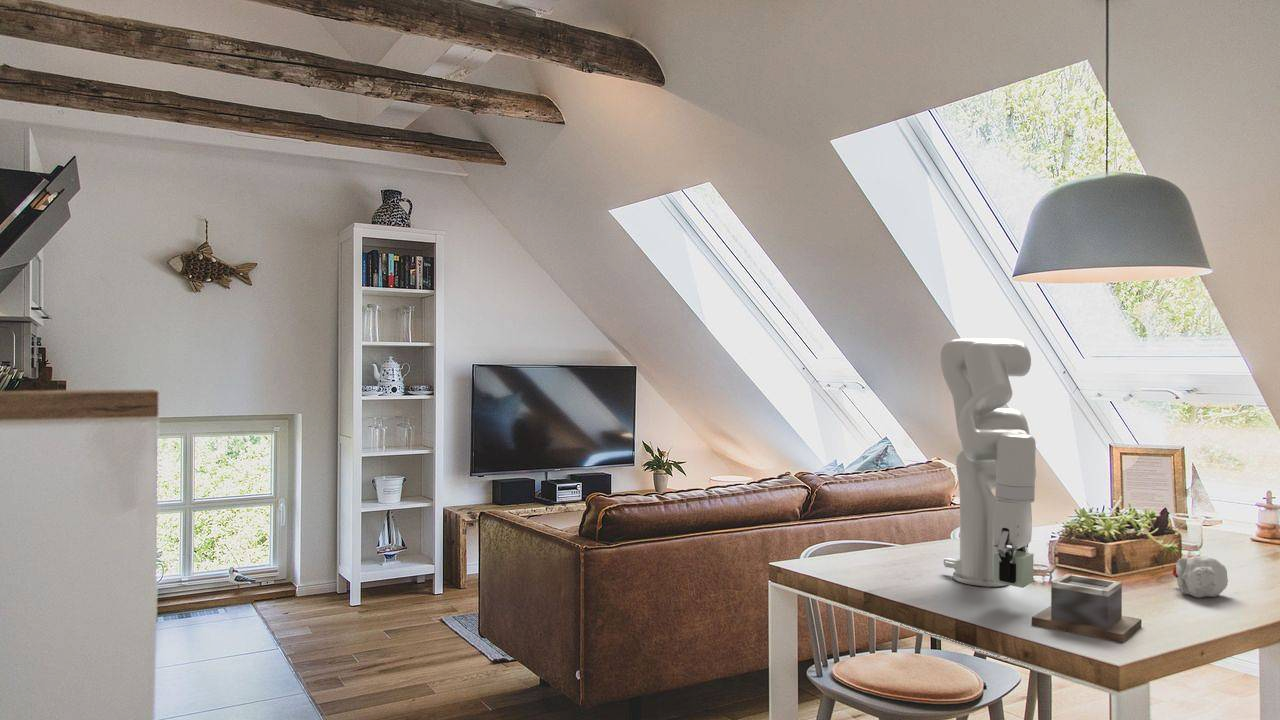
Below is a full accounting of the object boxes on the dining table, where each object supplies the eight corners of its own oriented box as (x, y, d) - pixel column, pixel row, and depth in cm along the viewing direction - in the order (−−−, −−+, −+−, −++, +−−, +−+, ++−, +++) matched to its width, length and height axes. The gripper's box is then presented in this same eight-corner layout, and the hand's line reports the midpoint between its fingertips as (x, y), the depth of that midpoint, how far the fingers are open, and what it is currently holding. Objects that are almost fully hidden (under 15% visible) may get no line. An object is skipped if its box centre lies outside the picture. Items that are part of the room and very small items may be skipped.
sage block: (993, 581, 179) (993, 553, 179) (1003, 576, 184) (1004, 548, 183) (1023, 587, 175) (1023, 558, 175) (1032, 581, 180) (1033, 553, 179)
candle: (1200, 600, 186) (1154, 591, 201) (1249, 600, 187) (1200, 591, 202) (1196, 558, 187) (1151, 552, 202) (1245, 557, 188) (1196, 552, 203)
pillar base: (1031, 624, 168) (1031, 581, 168) (1054, 610, 179) (1054, 569, 179) (1122, 642, 157) (1122, 596, 158) (1141, 626, 168) (1141, 583, 168)
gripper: (1011, 485, 188) (1009, 567, 188) (980, 495, 175) (979, 583, 176) (1047, 489, 183) (1045, 573, 183) (1018, 500, 170) (1017, 591, 170)
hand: (1013, 577), depth 179 cm, fingers closed on sage block, 6 cm apart
